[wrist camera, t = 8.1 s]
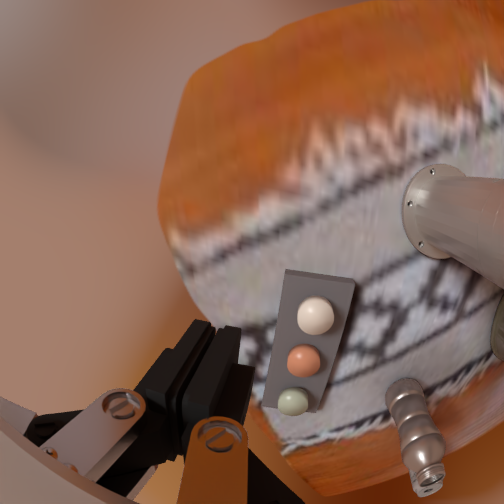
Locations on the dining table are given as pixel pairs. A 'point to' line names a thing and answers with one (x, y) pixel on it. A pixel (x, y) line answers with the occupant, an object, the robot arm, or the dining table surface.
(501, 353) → the dome
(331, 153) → the dining table surface
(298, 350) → the key terracotta
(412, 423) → the plastic bottle
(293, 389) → the key sage
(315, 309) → the key cream
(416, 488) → the energy drink can
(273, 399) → the button board
